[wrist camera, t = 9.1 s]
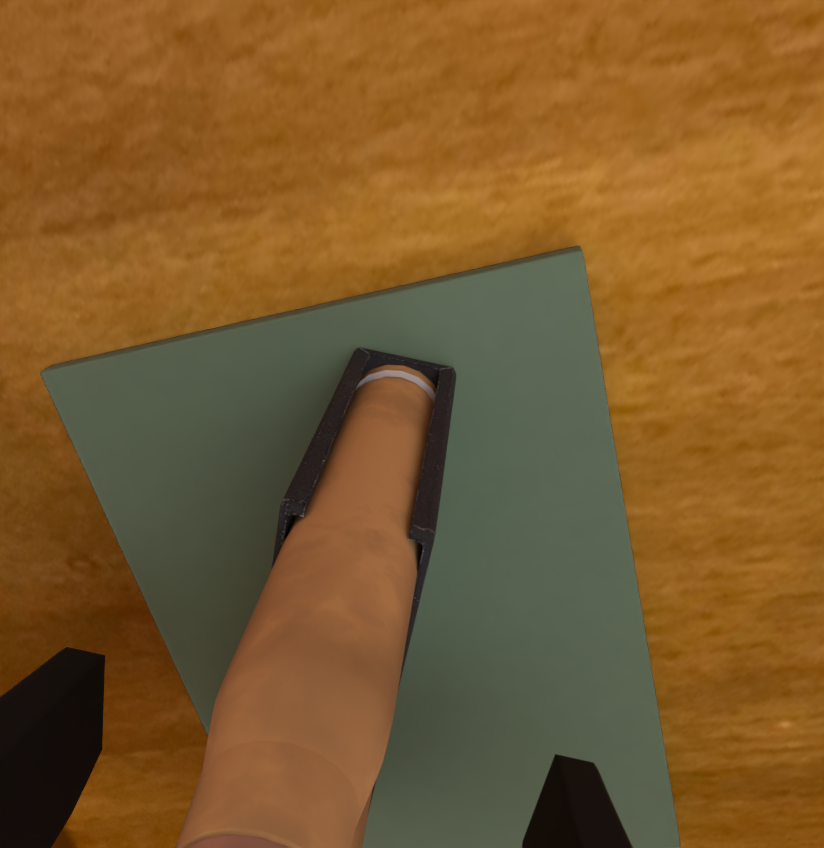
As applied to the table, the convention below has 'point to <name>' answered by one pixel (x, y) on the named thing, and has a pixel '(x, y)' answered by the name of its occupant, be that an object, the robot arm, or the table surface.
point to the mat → (453, 547)
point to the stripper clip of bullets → (330, 620)
